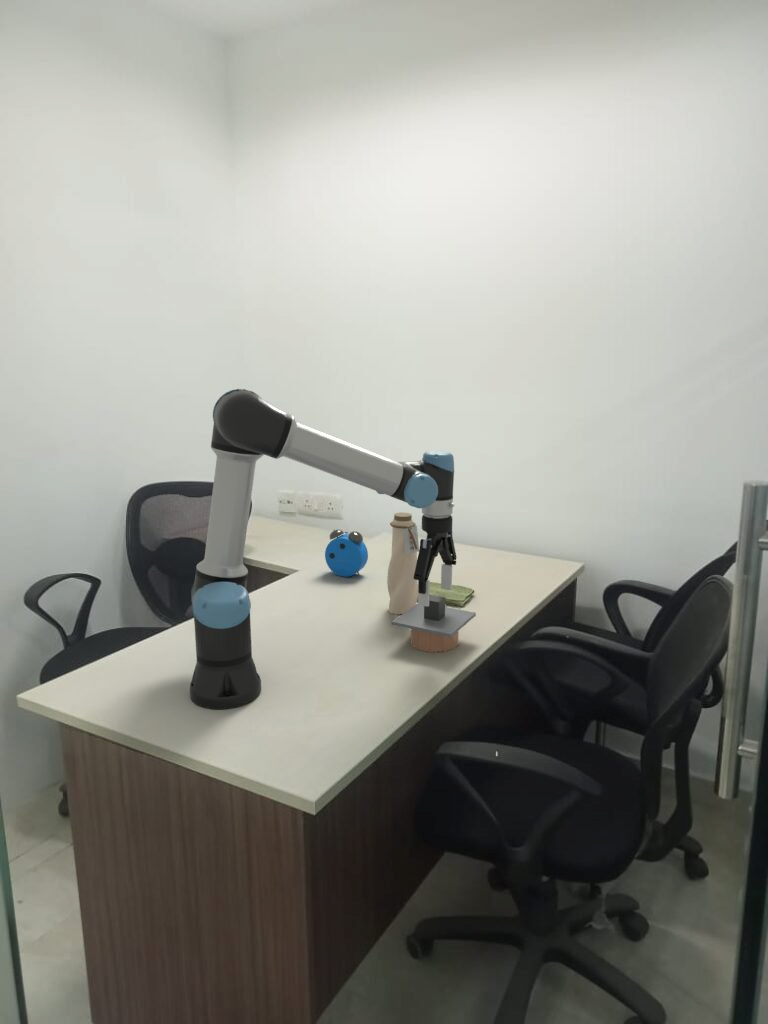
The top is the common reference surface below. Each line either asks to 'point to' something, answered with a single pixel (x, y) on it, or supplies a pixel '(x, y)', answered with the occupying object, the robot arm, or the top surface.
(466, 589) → the washcloth
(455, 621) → the cover sheet
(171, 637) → the top surface
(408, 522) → the water bottle
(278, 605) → the top surface
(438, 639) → the bowl
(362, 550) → the alarm clock
